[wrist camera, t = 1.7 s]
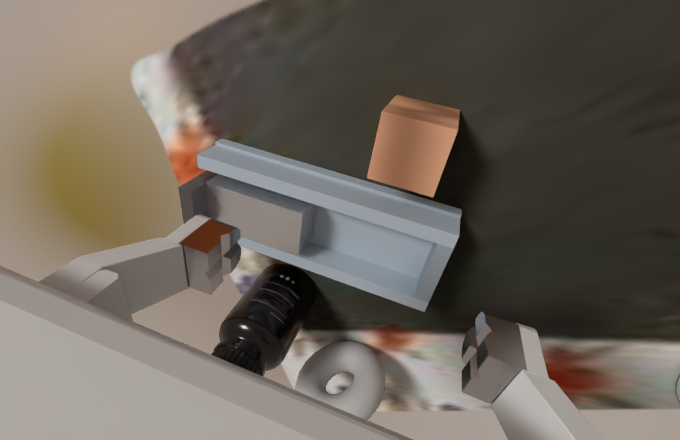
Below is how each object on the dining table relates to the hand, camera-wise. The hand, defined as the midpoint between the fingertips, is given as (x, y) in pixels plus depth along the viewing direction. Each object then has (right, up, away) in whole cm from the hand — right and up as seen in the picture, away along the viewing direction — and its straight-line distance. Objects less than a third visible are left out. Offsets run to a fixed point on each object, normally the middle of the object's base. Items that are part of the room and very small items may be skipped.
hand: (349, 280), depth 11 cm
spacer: (+6, +8, +13) cm, 17 cm away
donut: (+1, -13, +29) cm, 32 cm away
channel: (-2, +3, +20) cm, 20 cm away
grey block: (-7, +4, +20) cm, 22 cm away
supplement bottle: (-6, -5, +27) cm, 28 cm away
